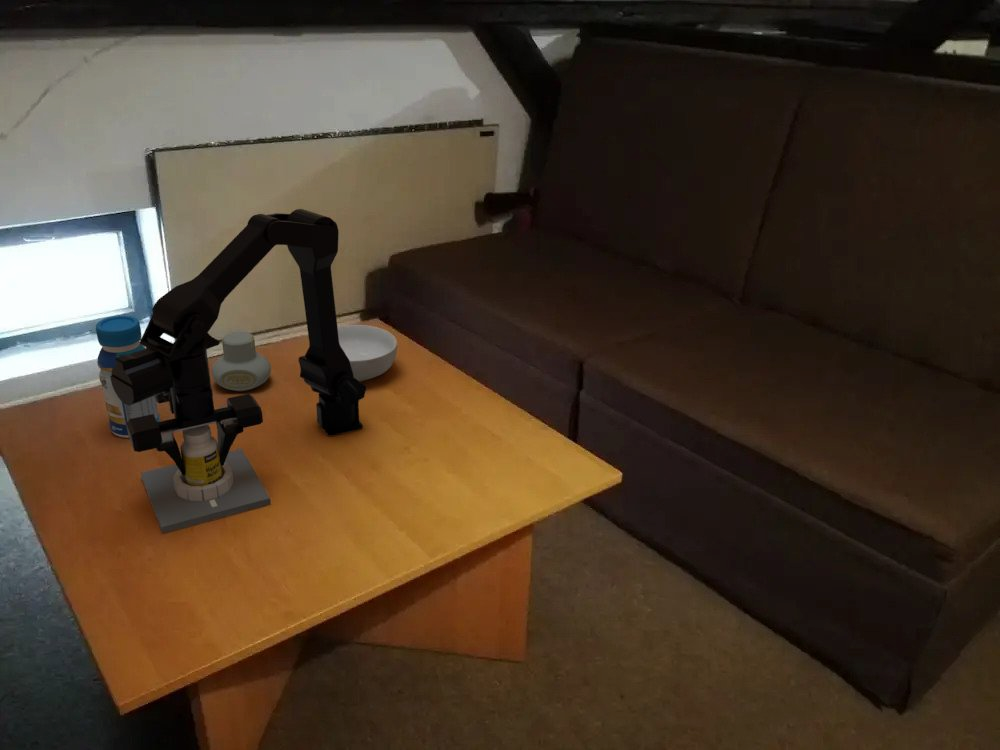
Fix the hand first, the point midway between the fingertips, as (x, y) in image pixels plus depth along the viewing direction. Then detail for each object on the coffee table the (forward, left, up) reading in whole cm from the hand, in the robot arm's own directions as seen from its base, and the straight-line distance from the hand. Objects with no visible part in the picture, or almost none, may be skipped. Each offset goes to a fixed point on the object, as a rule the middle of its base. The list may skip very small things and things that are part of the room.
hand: (202, 469), depth 134 cm
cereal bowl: (-36, -28, -4) cm, 46 cm away
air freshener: (-15, -33, -4) cm, 36 cm away
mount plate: (0, 0, -4) cm, 4 cm away
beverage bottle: (+6, -25, -4) cm, 26 cm away
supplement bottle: (0, 0, -3) cm, 3 cm away
